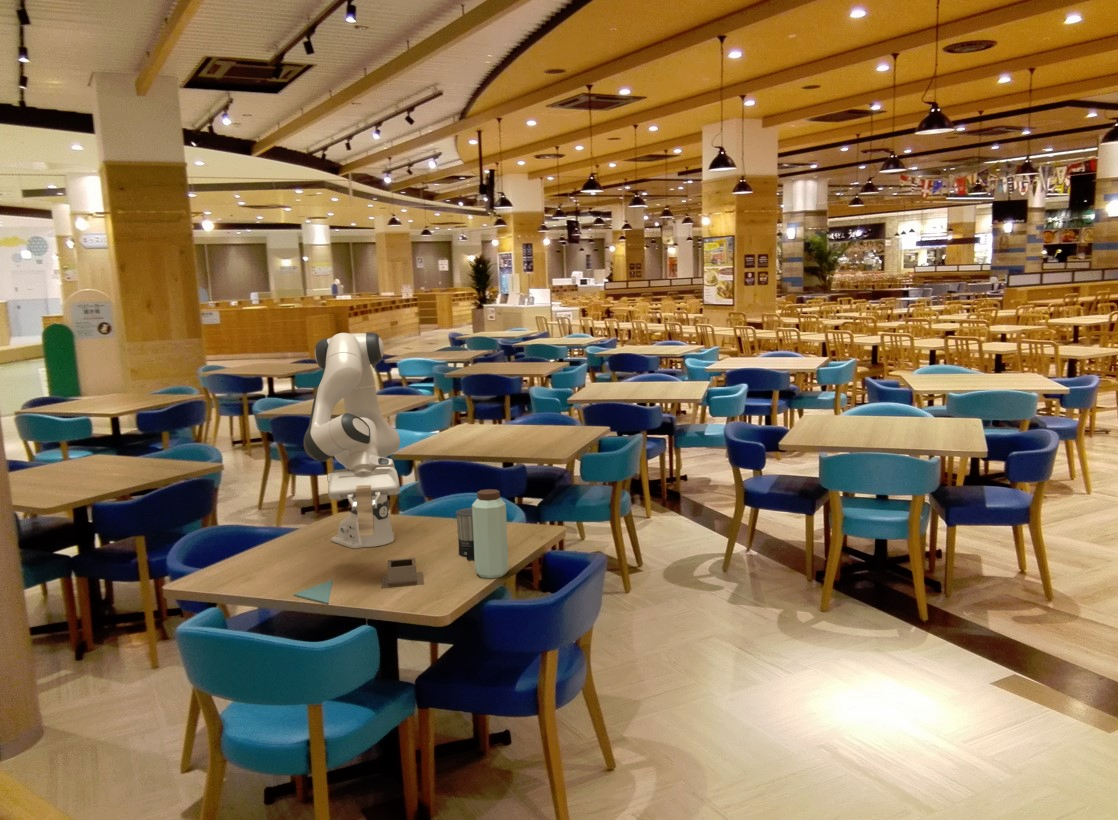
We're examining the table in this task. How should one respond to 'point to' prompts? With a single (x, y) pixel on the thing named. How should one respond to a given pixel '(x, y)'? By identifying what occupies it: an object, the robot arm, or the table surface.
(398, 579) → the tan hollow square block
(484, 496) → the water bottle
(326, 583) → the teal mat
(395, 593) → the table surface
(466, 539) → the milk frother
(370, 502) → the maple bar
